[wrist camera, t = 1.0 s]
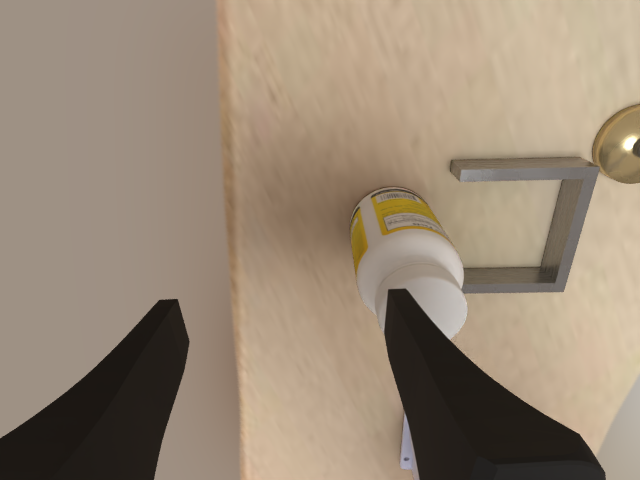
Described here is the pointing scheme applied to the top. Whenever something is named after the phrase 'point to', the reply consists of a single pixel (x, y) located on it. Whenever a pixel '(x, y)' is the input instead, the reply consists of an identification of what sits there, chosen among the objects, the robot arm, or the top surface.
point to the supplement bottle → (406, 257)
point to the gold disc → (620, 146)
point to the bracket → (563, 228)
